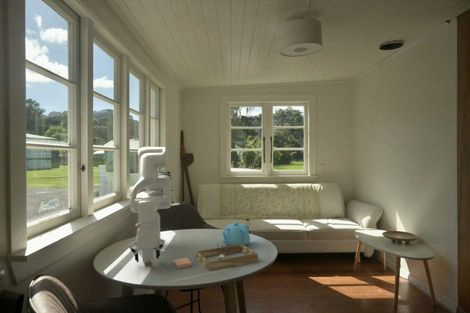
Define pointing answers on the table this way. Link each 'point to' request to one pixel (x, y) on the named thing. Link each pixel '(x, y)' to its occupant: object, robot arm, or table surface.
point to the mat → (171, 267)
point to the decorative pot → (236, 234)
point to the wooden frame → (234, 261)
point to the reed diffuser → (221, 255)
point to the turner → (147, 256)
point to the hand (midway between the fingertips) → (147, 259)
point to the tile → (182, 263)
